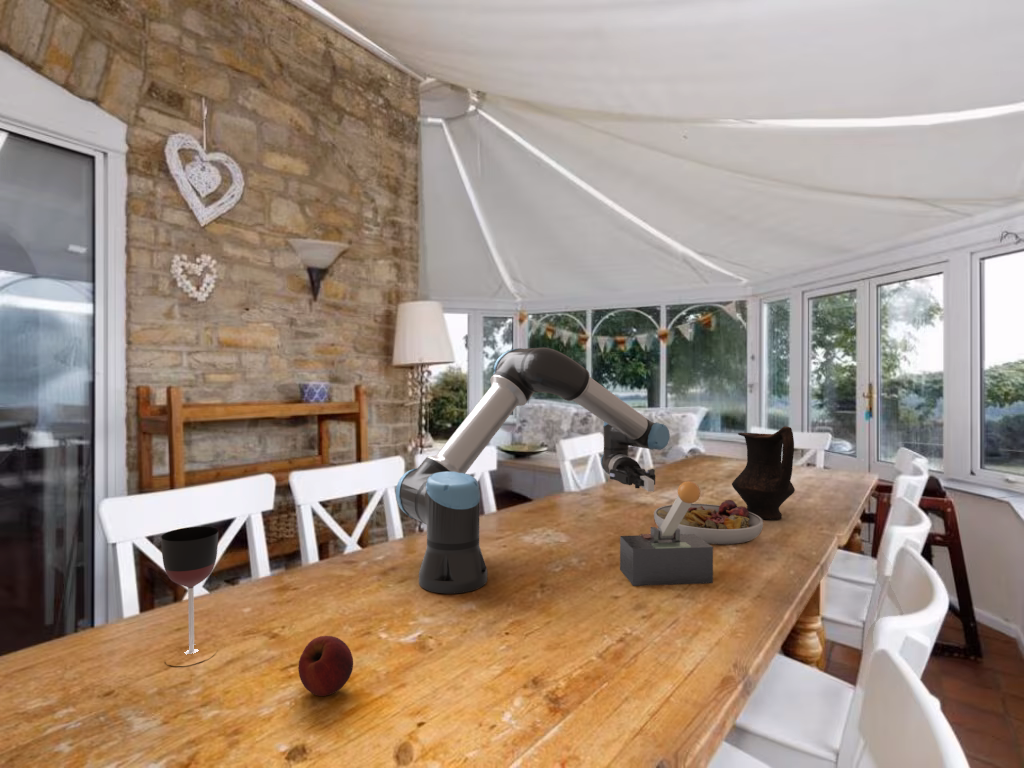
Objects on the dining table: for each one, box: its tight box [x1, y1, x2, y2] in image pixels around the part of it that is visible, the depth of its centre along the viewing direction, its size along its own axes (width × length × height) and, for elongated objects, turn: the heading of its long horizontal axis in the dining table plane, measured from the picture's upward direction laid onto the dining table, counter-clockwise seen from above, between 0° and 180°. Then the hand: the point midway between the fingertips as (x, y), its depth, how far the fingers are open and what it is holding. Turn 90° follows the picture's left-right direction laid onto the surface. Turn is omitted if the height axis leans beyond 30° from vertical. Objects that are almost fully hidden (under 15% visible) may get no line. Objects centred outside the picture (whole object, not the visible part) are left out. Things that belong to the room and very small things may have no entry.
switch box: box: [619, 526, 714, 587], centre depth 127 cm, size 10×18×11 cm, turn 95°
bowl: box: [653, 499, 764, 545], centre depth 163 cm, size 30×30×8 cm
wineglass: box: [160, 526, 219, 655], centre depth 91 cm, size 8×9×20 cm
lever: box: [656, 480, 701, 540], centre depth 119 cm, size 4×4×22 cm
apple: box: [297, 635, 354, 697], centre depth 81 cm, size 7×8×8 cm
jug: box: [731, 426, 796, 521], centre depth 179 cm, size 21×18×30 cm
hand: (651, 485), depth 138 cm, fingers closed
